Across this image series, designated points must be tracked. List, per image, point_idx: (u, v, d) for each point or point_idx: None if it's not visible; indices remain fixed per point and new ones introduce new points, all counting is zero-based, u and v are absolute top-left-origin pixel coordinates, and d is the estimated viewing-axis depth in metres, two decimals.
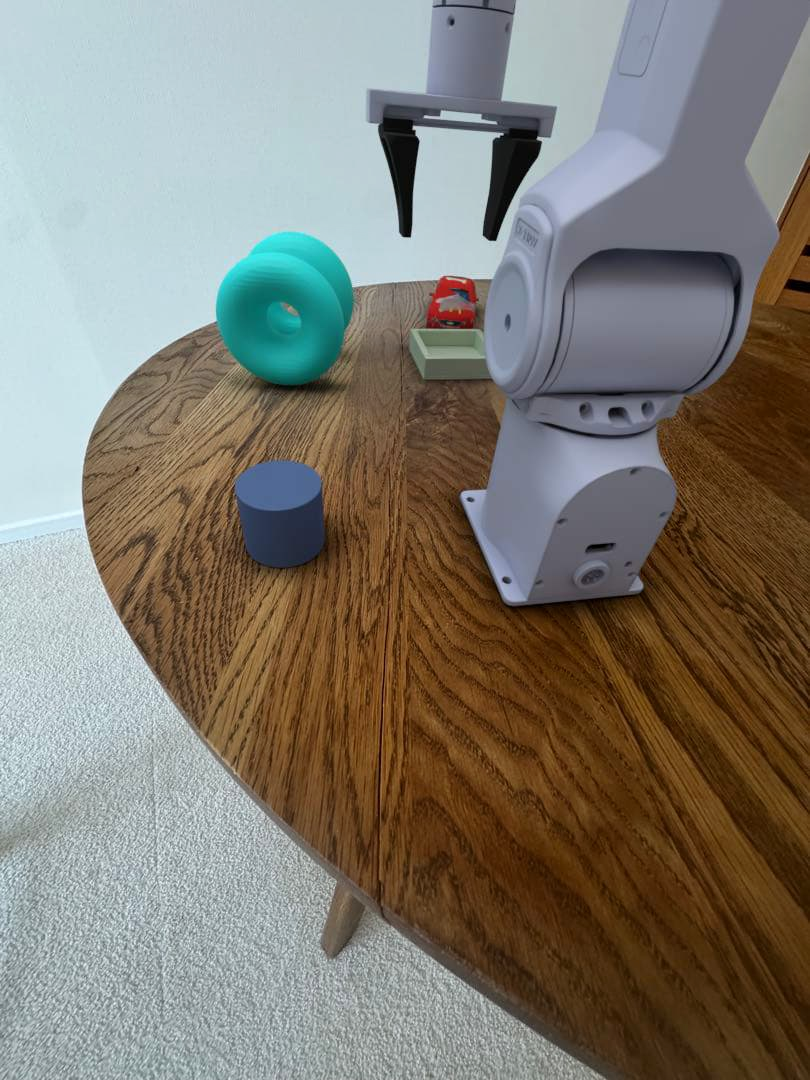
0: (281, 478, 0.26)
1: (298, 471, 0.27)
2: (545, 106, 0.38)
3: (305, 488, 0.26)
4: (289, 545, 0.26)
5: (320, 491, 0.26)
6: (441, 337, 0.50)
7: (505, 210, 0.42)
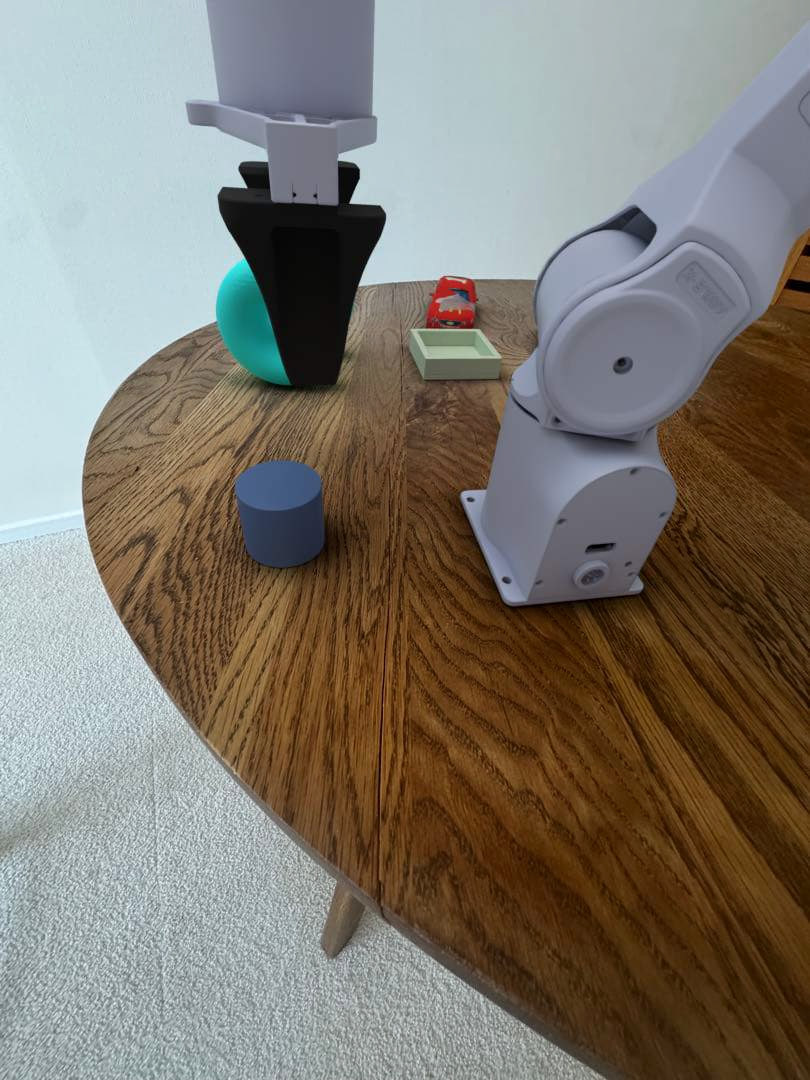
0: (281, 478, 0.26)
1: (298, 471, 0.27)
2: None
3: (305, 488, 0.26)
4: (289, 545, 0.26)
5: (320, 491, 0.26)
6: (441, 337, 0.50)
7: None
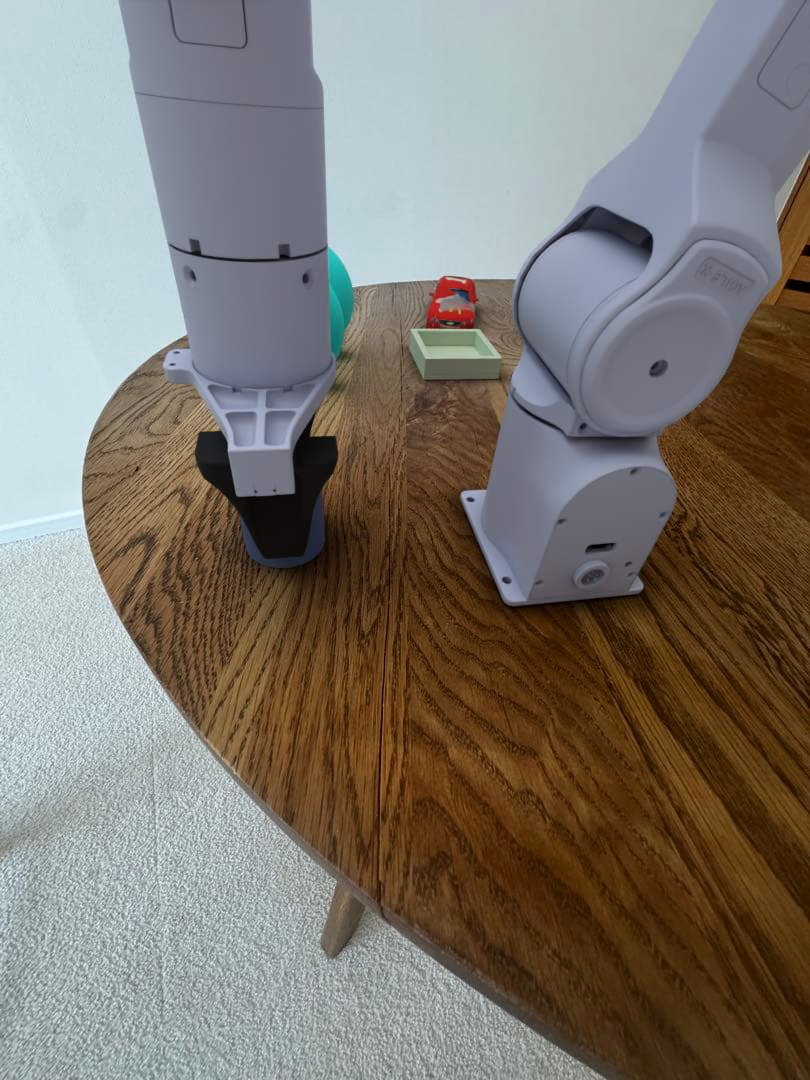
0: None
1: None
2: None
3: None
4: None
5: None
6: (441, 337, 0.50)
7: None
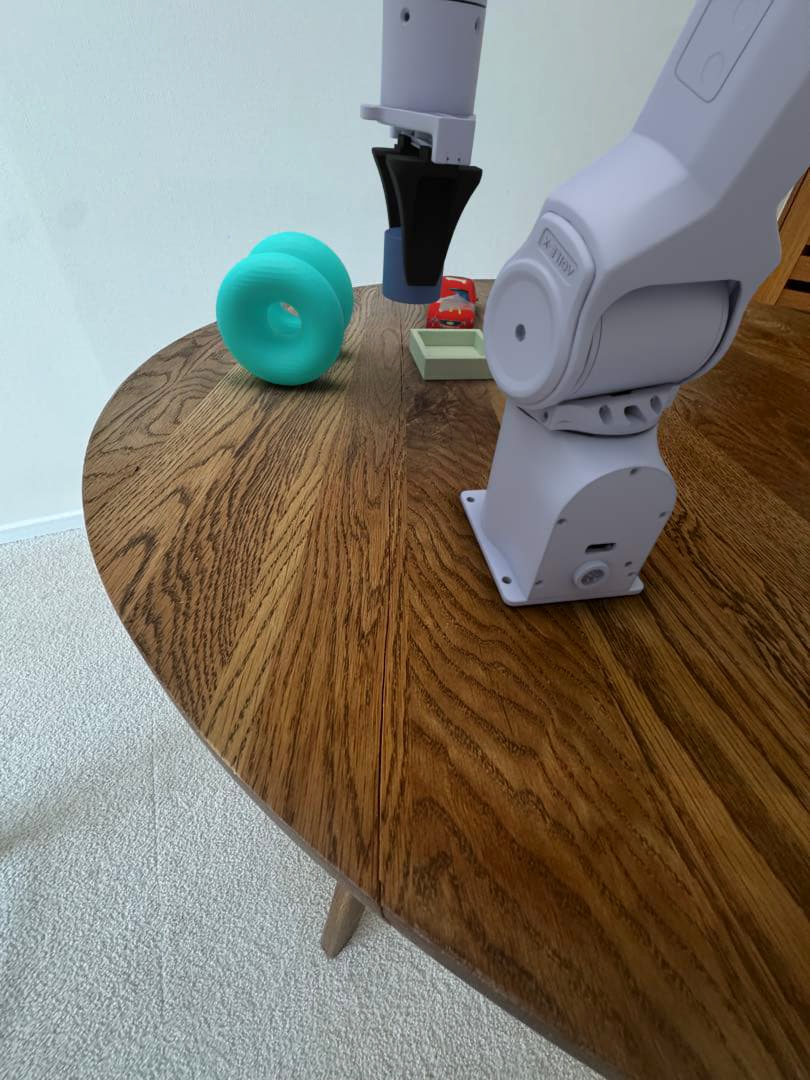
0: None
1: None
2: None
3: None
4: None
5: None
6: (441, 337, 0.50)
7: None
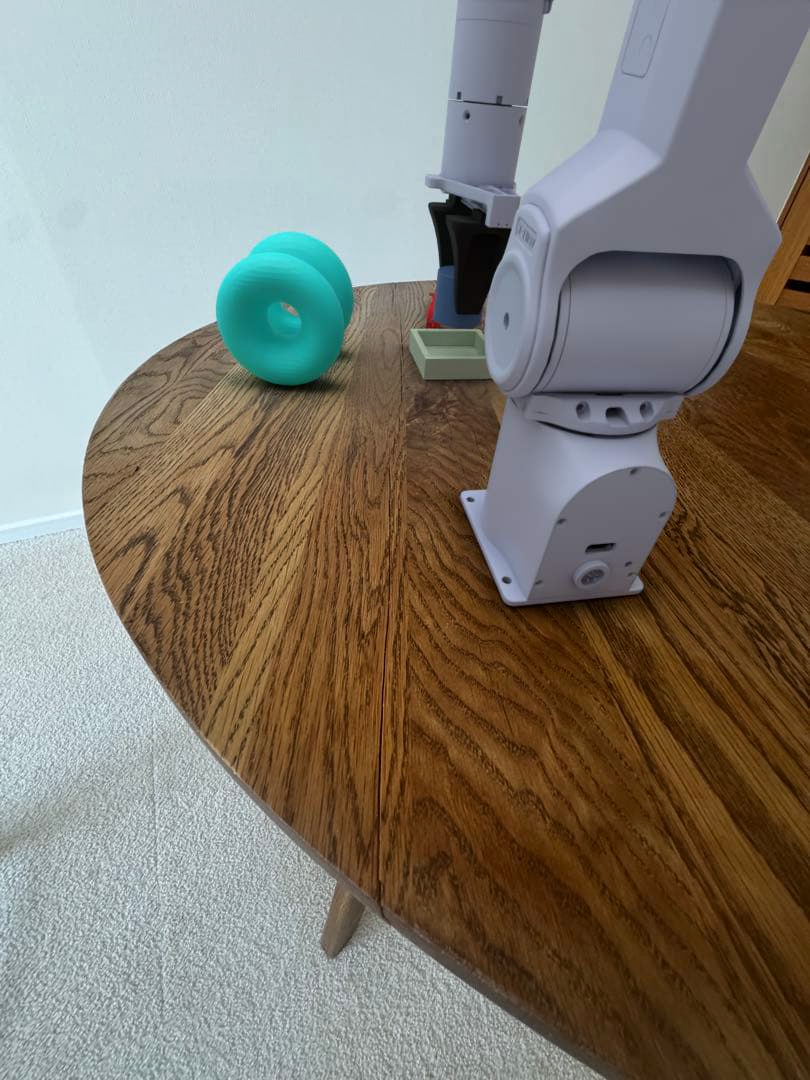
0: None
1: None
2: None
3: None
4: None
5: None
6: (441, 337, 0.50)
7: None
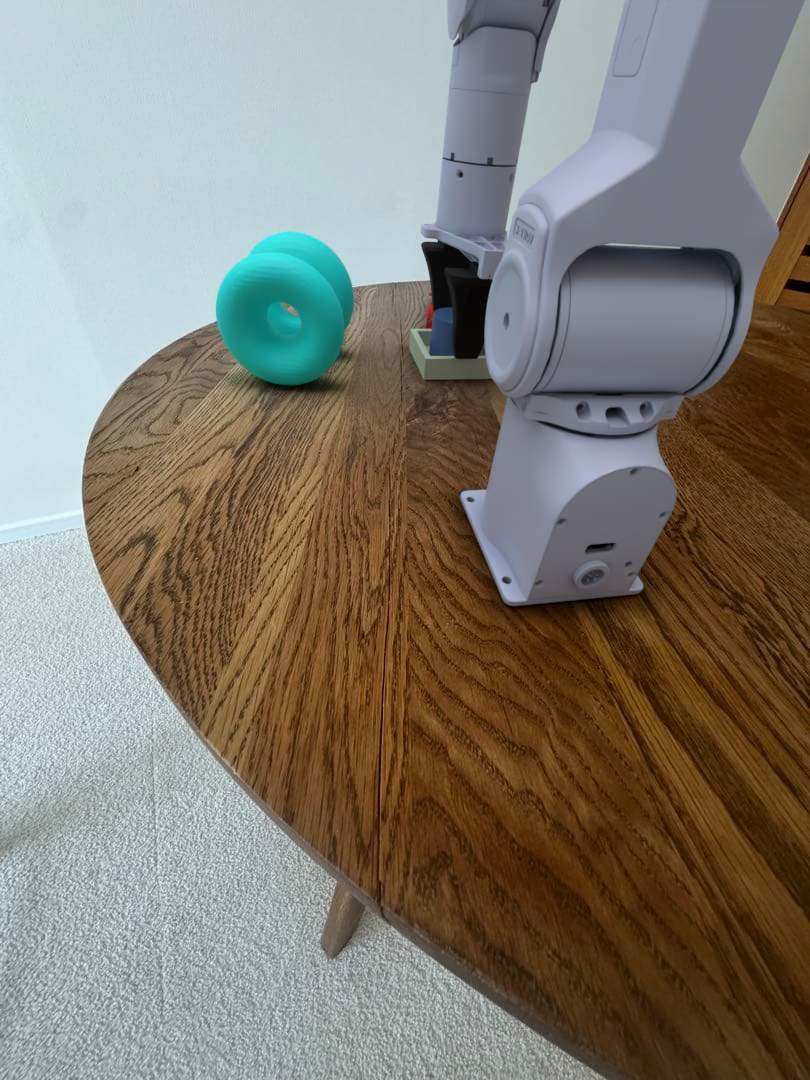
0: None
1: None
2: None
3: None
4: None
5: None
6: None
7: None
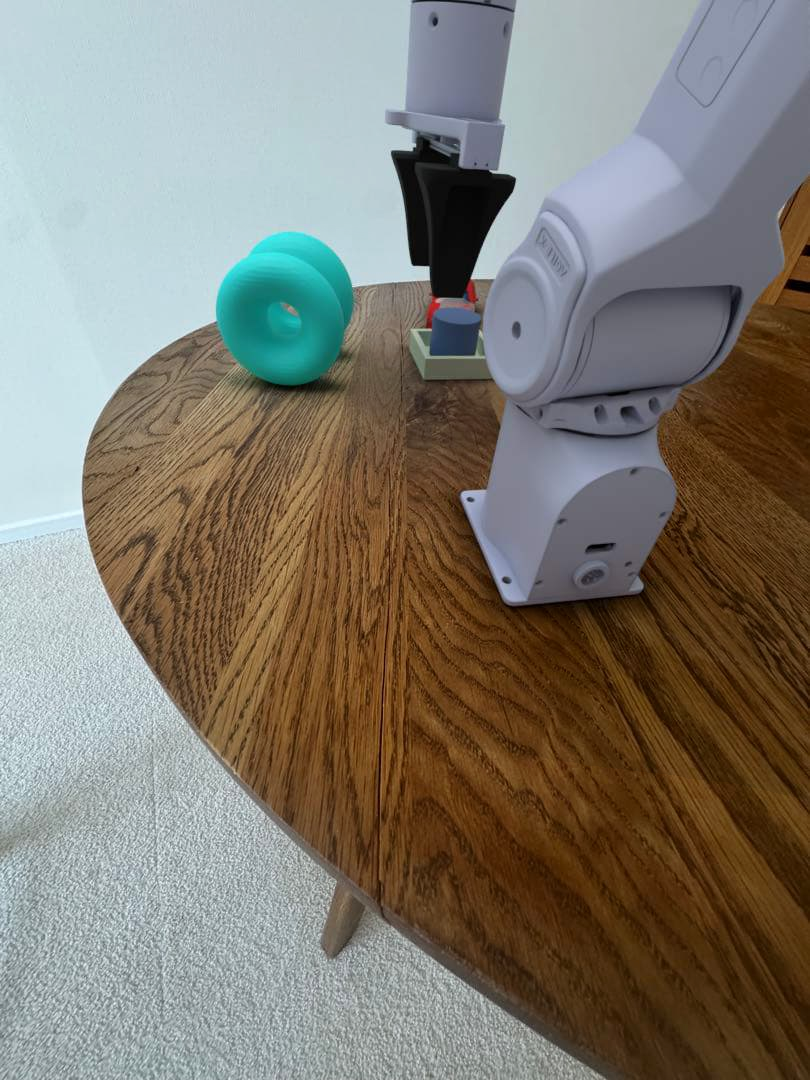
0: (457, 313, 0.46)
1: (465, 311, 0.47)
2: None
3: (472, 317, 0.46)
4: (463, 350, 0.46)
5: None
6: None
7: None
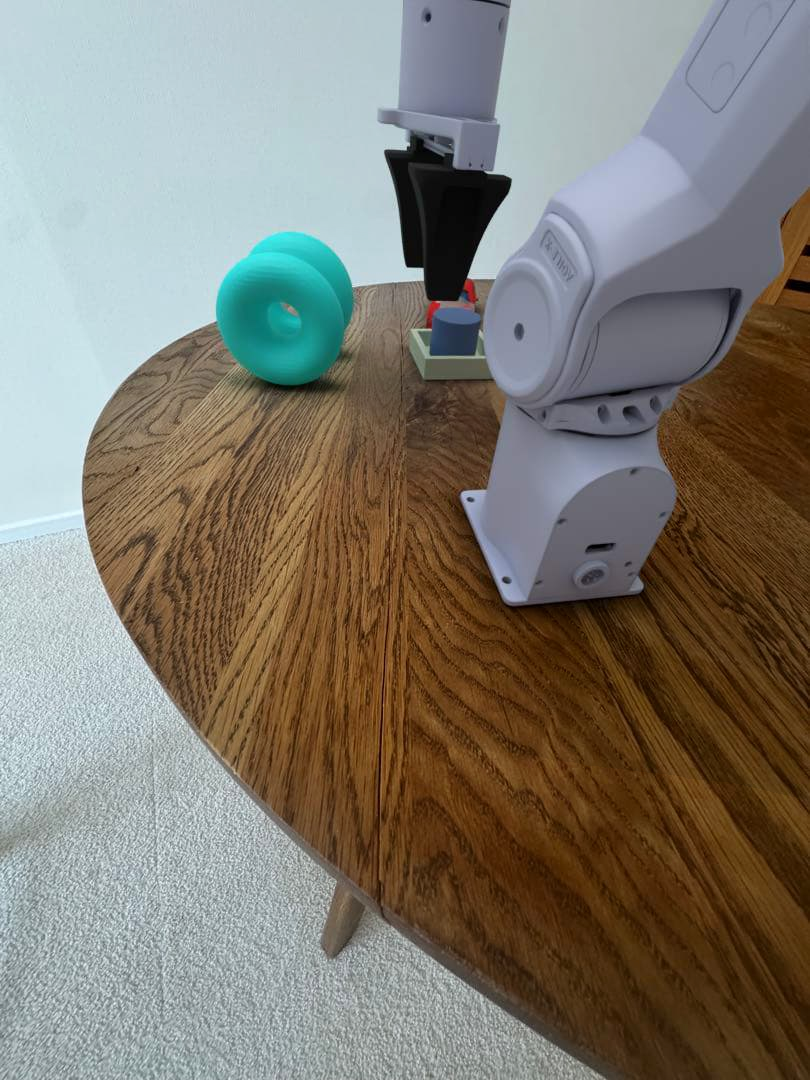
0: (457, 313, 0.46)
1: (465, 311, 0.47)
2: None
3: (472, 317, 0.46)
4: (463, 350, 0.46)
5: None
6: None
7: None
